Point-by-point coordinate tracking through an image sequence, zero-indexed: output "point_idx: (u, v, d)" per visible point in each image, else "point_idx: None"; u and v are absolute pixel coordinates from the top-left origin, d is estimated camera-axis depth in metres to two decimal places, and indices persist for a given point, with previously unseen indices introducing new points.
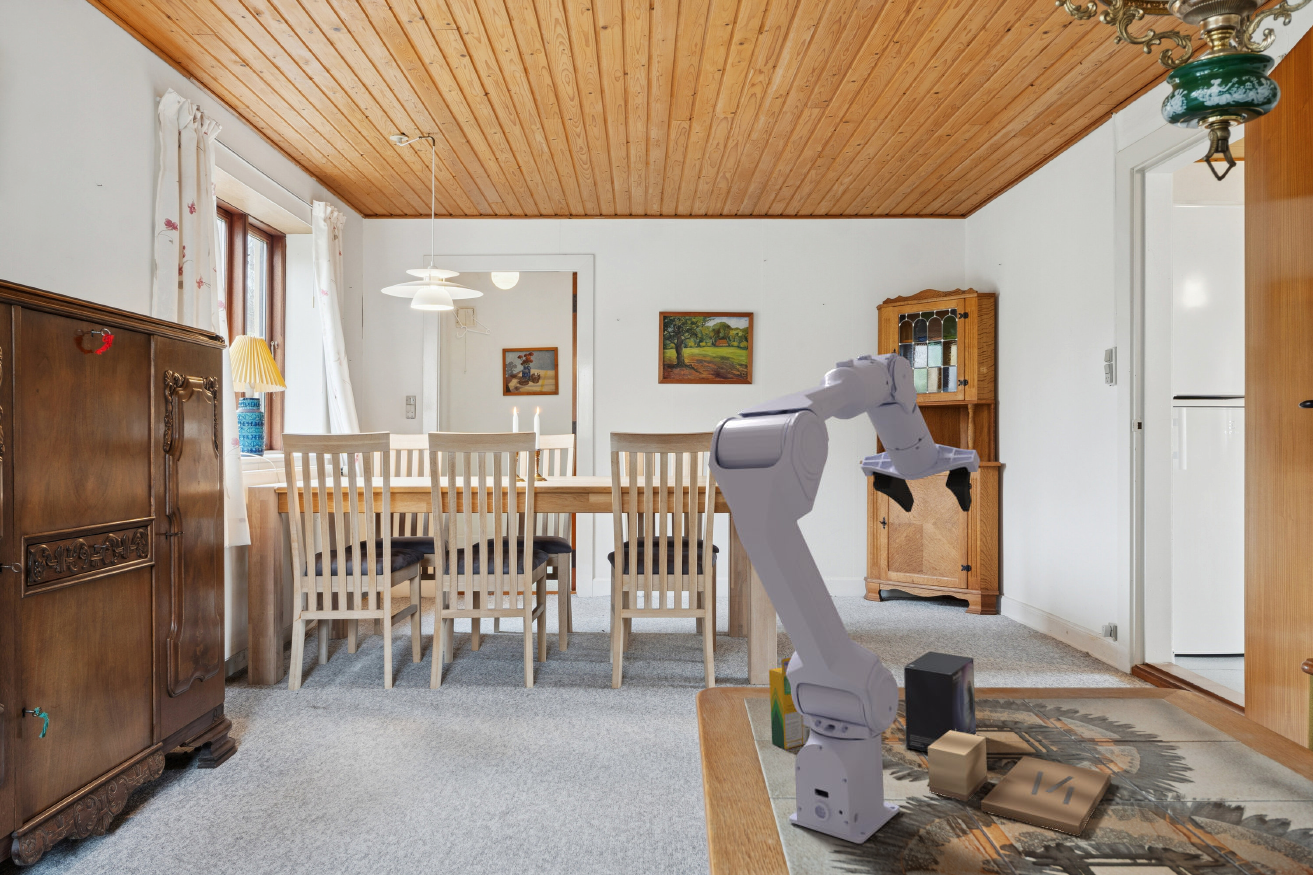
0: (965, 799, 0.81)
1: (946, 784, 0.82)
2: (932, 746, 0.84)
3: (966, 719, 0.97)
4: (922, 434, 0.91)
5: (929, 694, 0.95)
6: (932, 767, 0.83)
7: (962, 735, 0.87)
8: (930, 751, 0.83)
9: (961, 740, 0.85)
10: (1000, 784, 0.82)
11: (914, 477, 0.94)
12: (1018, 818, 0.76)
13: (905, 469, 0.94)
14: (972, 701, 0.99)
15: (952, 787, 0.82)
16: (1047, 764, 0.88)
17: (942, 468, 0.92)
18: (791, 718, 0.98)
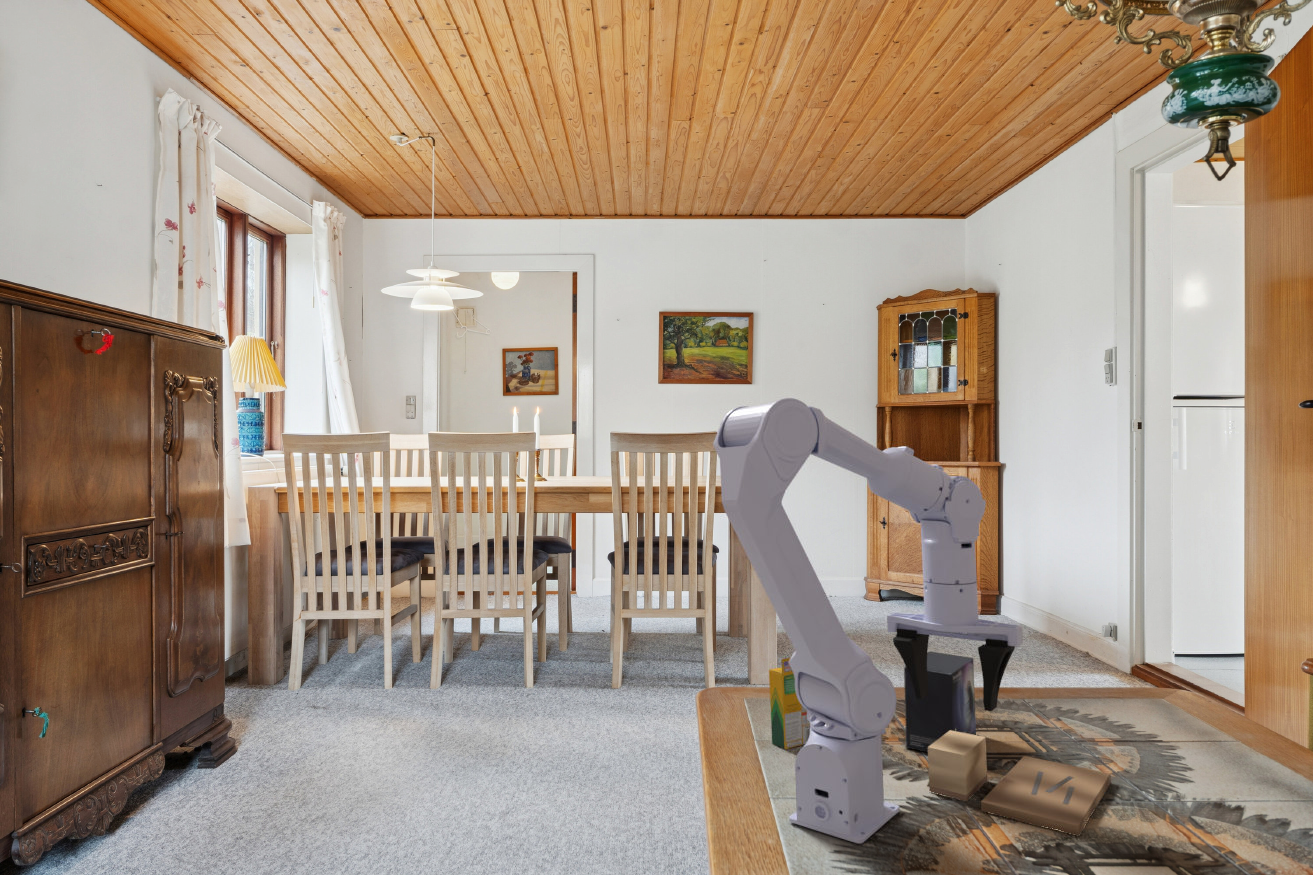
0: (965, 799, 0.81)
1: (946, 784, 0.82)
2: (932, 746, 0.84)
3: (966, 719, 0.97)
4: (962, 579, 0.83)
5: (929, 694, 0.95)
6: (932, 767, 0.83)
7: (962, 735, 0.87)
8: (930, 751, 0.83)
9: (961, 740, 0.85)
10: (1000, 784, 0.82)
11: (946, 627, 0.83)
12: (1018, 818, 0.76)
13: (939, 614, 0.84)
14: (972, 701, 0.99)
15: (952, 787, 0.82)
16: (1047, 764, 0.88)
17: (980, 627, 0.82)
18: (791, 718, 0.98)
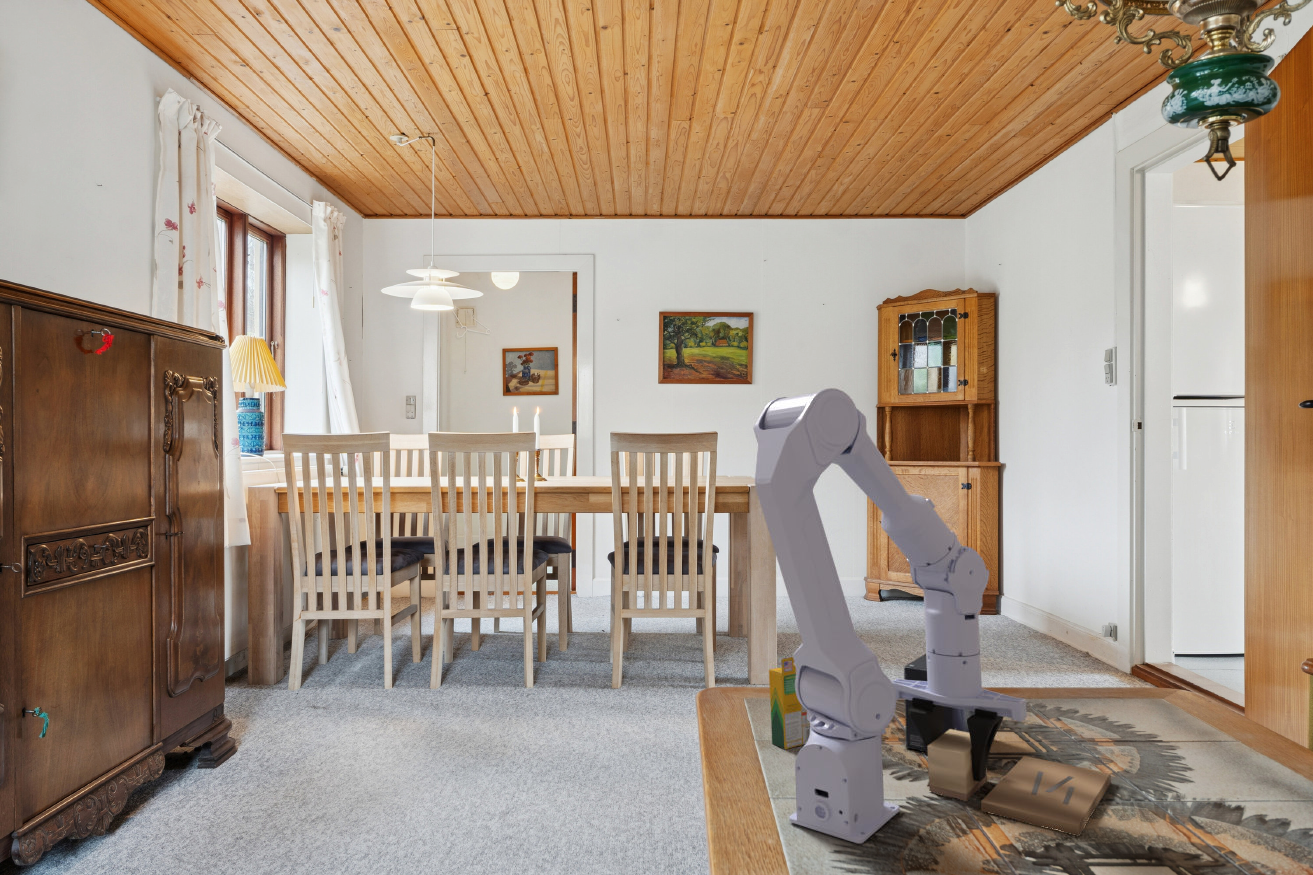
0: (965, 798, 0.81)
1: (946, 783, 0.82)
2: (932, 745, 0.84)
3: (966, 719, 0.97)
4: (966, 651, 0.83)
5: None
6: (932, 766, 0.83)
7: (962, 734, 0.87)
8: (930, 750, 0.83)
9: (961, 739, 0.85)
10: (1000, 784, 0.82)
11: (949, 700, 0.83)
12: (1018, 818, 0.76)
13: (942, 686, 0.83)
14: None
15: (952, 786, 0.82)
16: (1047, 764, 0.88)
17: (984, 700, 0.81)
18: (791, 718, 0.98)
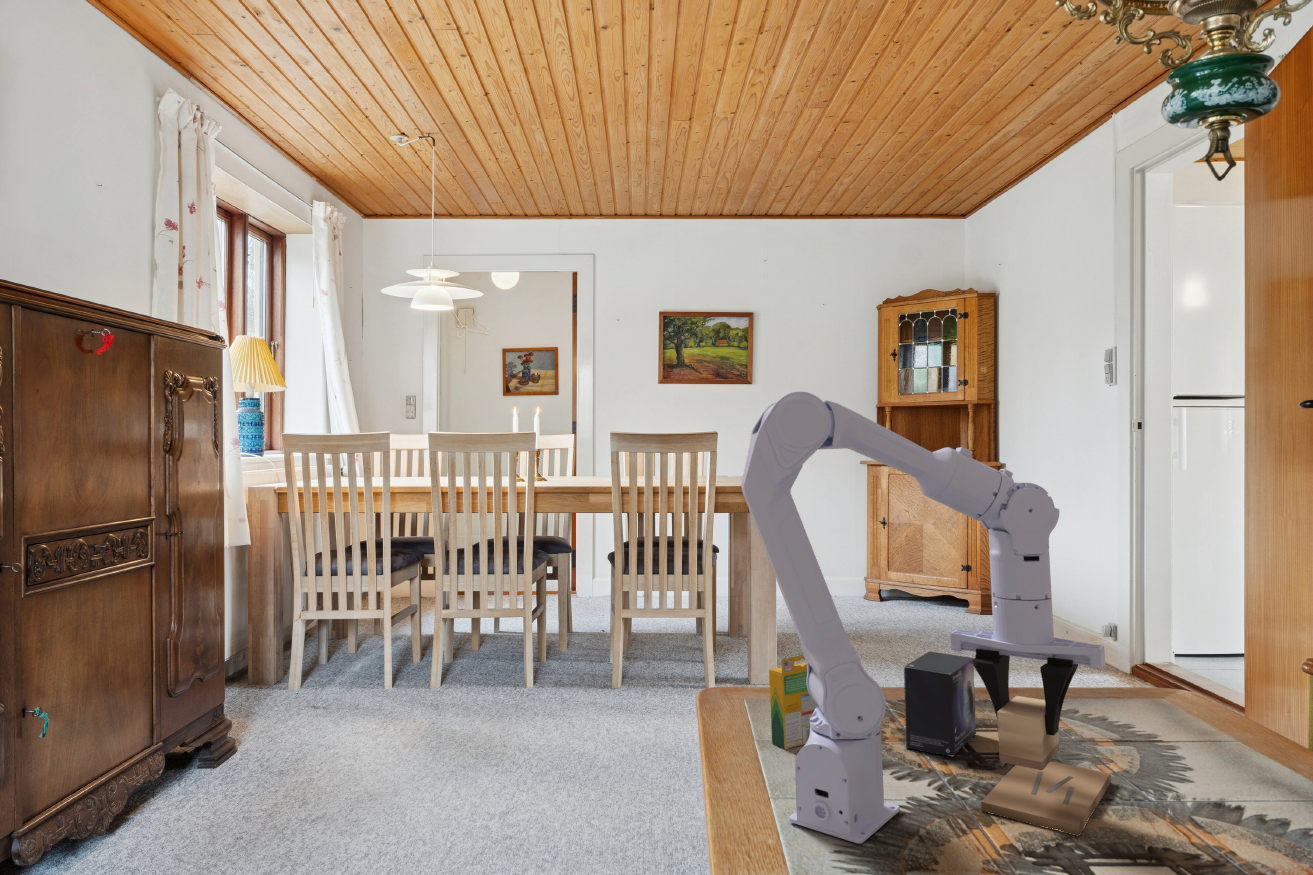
0: (1041, 766, 0.75)
1: (1019, 751, 0.76)
2: (1002, 711, 0.77)
3: (966, 719, 0.97)
4: (1025, 595, 0.76)
5: (929, 694, 0.95)
6: (1002, 733, 0.77)
7: (1031, 700, 0.81)
8: (1000, 716, 0.77)
9: (1031, 705, 0.79)
10: (1000, 784, 0.82)
11: (1020, 647, 0.76)
12: (1018, 818, 0.76)
13: (1012, 633, 0.77)
14: (972, 701, 0.99)
15: (1026, 754, 0.75)
16: (1047, 764, 0.88)
17: (1059, 647, 0.75)
18: (791, 718, 0.98)
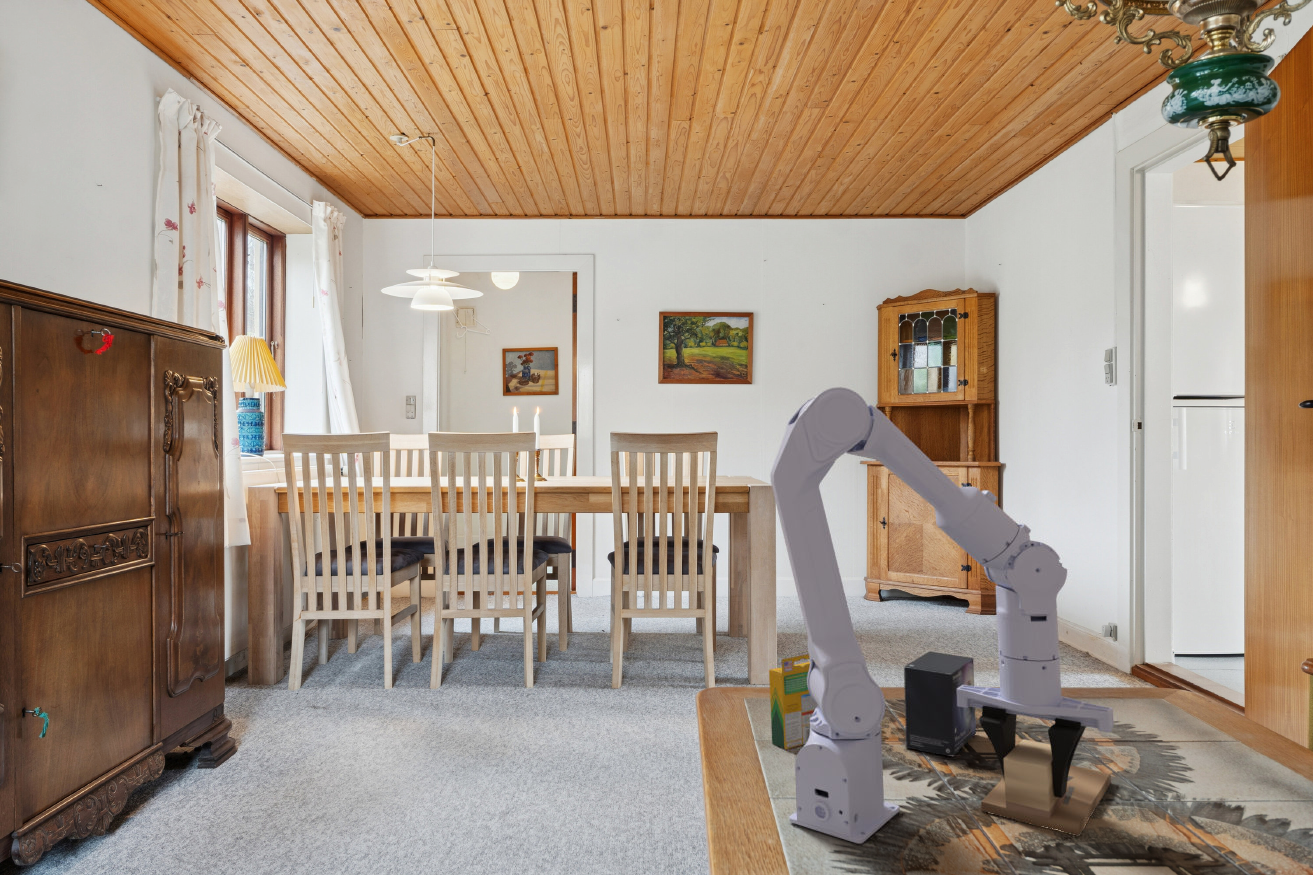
0: (1047, 816, 0.74)
1: (1025, 799, 0.75)
2: (1008, 757, 0.77)
3: (966, 719, 0.97)
4: (1032, 656, 0.76)
5: (929, 694, 0.95)
6: (1009, 780, 0.76)
7: (1037, 745, 0.80)
8: (1007, 763, 0.76)
9: (1038, 751, 0.78)
10: (1000, 784, 0.82)
11: (1027, 708, 0.76)
12: (1018, 818, 0.76)
13: (1019, 693, 0.76)
14: None
15: (1032, 802, 0.75)
16: None
17: (1066, 709, 0.74)
18: (791, 718, 0.98)
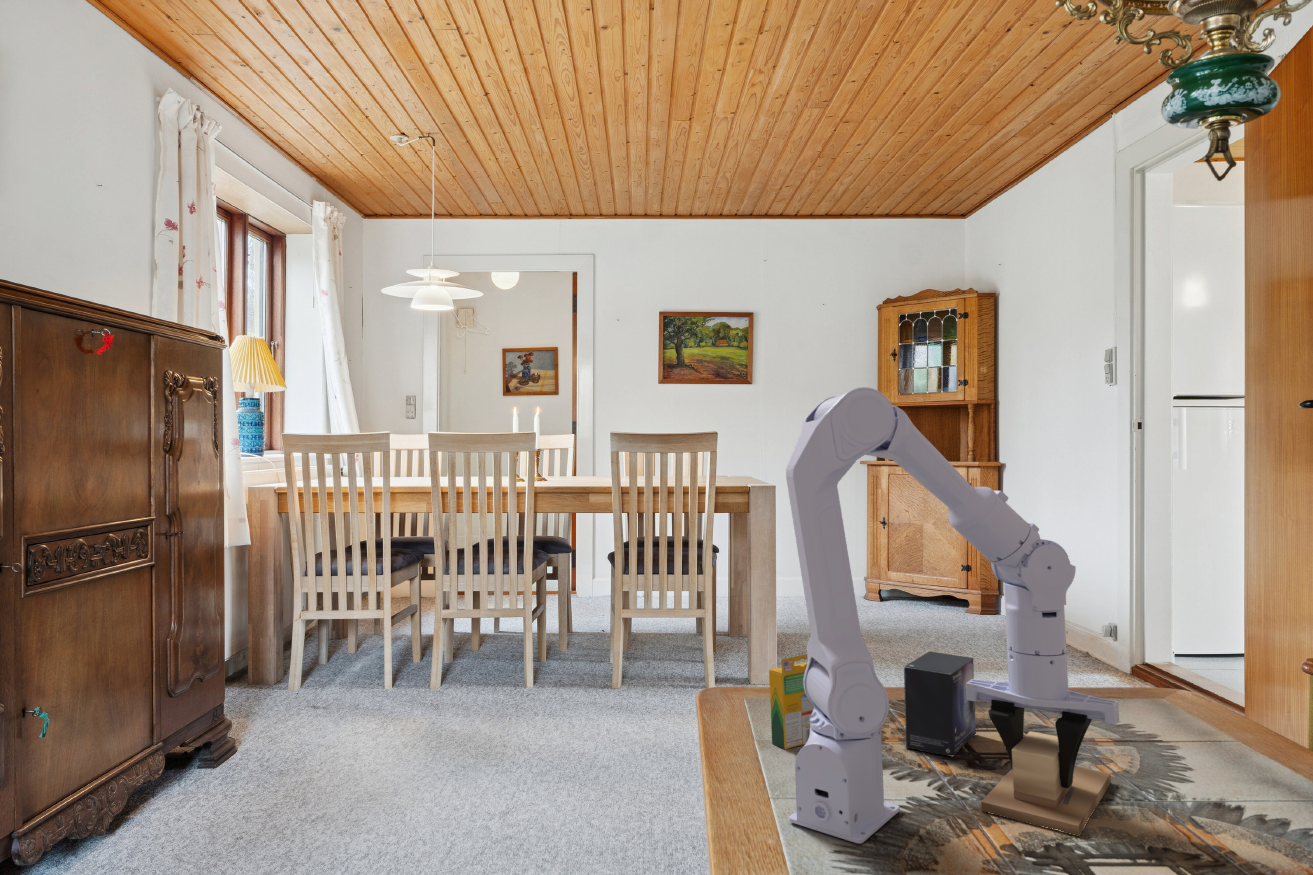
0: (1054, 805, 0.76)
1: (1033, 789, 0.78)
2: (1016, 748, 0.79)
3: (966, 719, 0.97)
4: (1044, 651, 0.78)
5: (929, 694, 0.95)
6: (1017, 771, 0.79)
7: (1044, 736, 0.82)
8: (1015, 753, 0.79)
9: (1045, 742, 0.81)
10: (1000, 784, 0.82)
11: (1035, 702, 0.78)
12: (1018, 818, 0.76)
13: (1027, 687, 0.79)
14: (972, 701, 0.99)
15: (1040, 792, 0.77)
16: None
17: (1073, 702, 0.77)
18: (791, 718, 0.98)
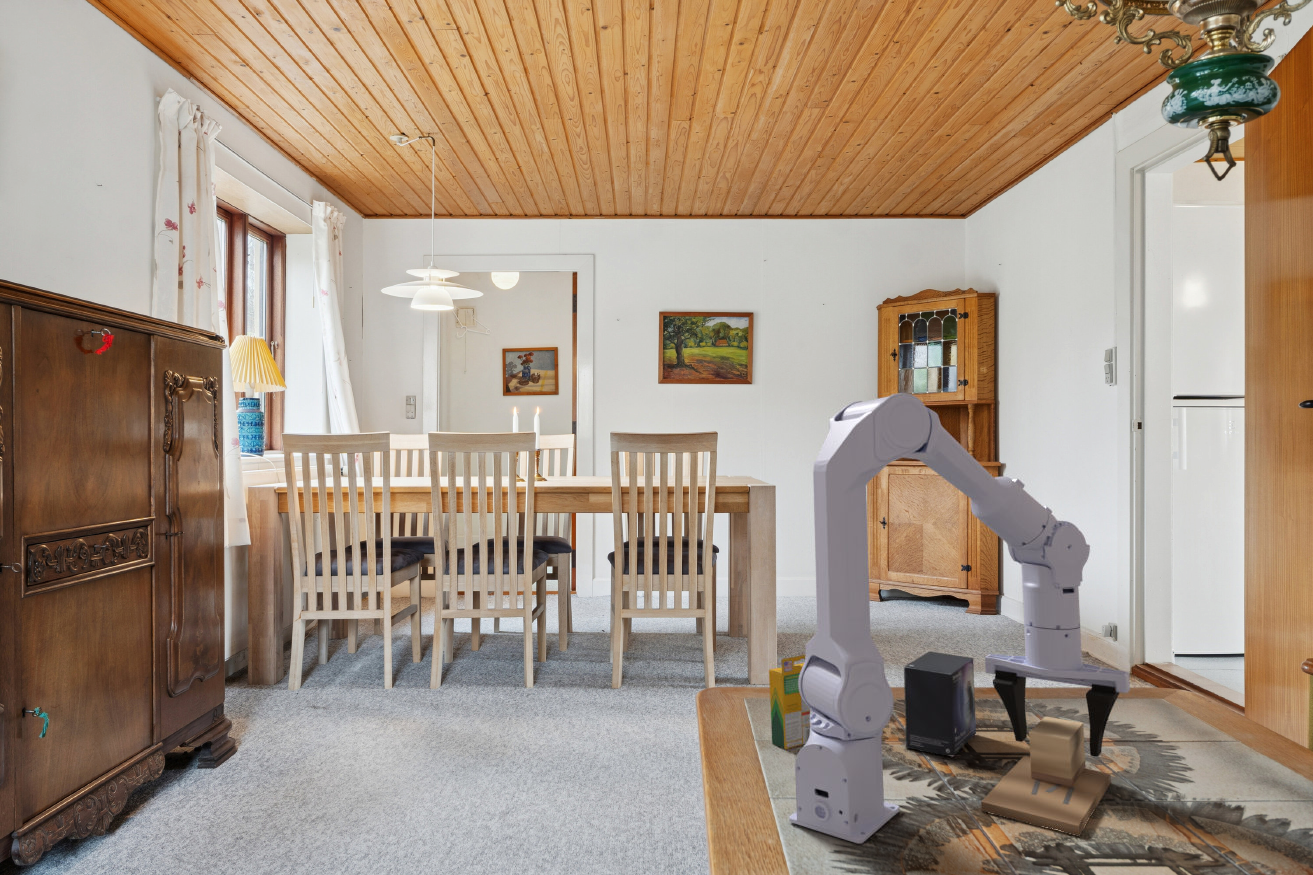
0: (1070, 783, 0.81)
1: (1049, 769, 0.83)
2: (1033, 731, 0.84)
3: (966, 719, 0.97)
4: (1064, 625, 0.83)
5: (929, 694, 0.95)
6: (1034, 752, 0.84)
7: (1059, 721, 0.87)
8: (1032, 736, 0.84)
9: (1060, 726, 0.86)
10: (1000, 784, 0.82)
11: (1051, 672, 0.83)
12: (1018, 818, 0.76)
13: (1043, 659, 0.84)
14: (972, 701, 0.99)
15: (1056, 771, 0.82)
16: None
17: (1087, 673, 0.82)
18: (791, 718, 0.98)
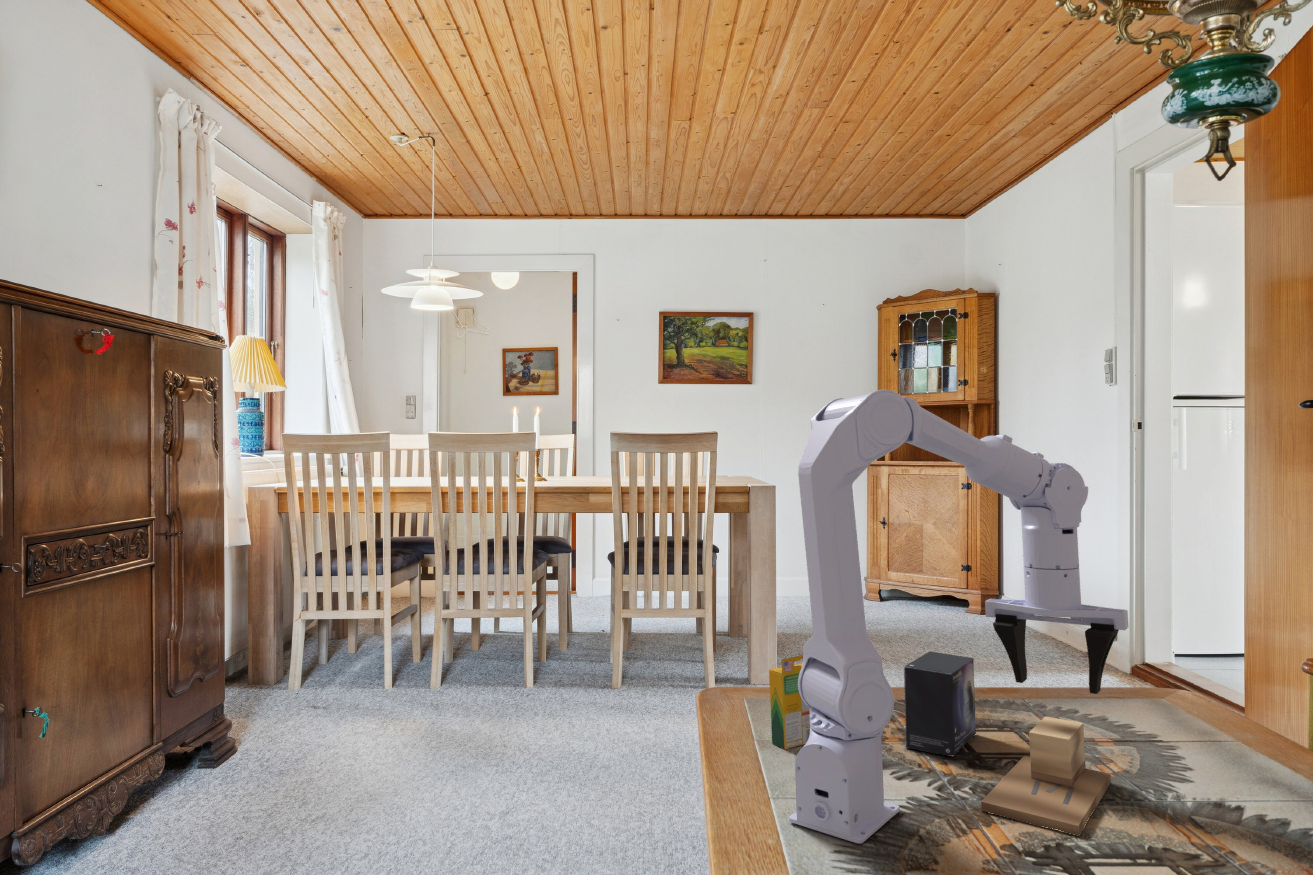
0: (1070, 783, 0.81)
1: (1049, 769, 0.83)
2: (1033, 731, 0.84)
3: (966, 719, 0.97)
4: (1063, 565, 0.84)
5: (929, 694, 0.95)
6: (1034, 752, 0.84)
7: (1059, 721, 0.87)
8: (1032, 736, 0.84)
9: (1060, 726, 0.86)
10: (1000, 784, 0.82)
11: (1050, 612, 0.84)
12: (1018, 818, 0.76)
13: (1043, 599, 0.85)
14: (972, 701, 0.99)
15: (1056, 771, 0.82)
16: None
17: (1086, 611, 0.83)
18: (791, 718, 0.98)
